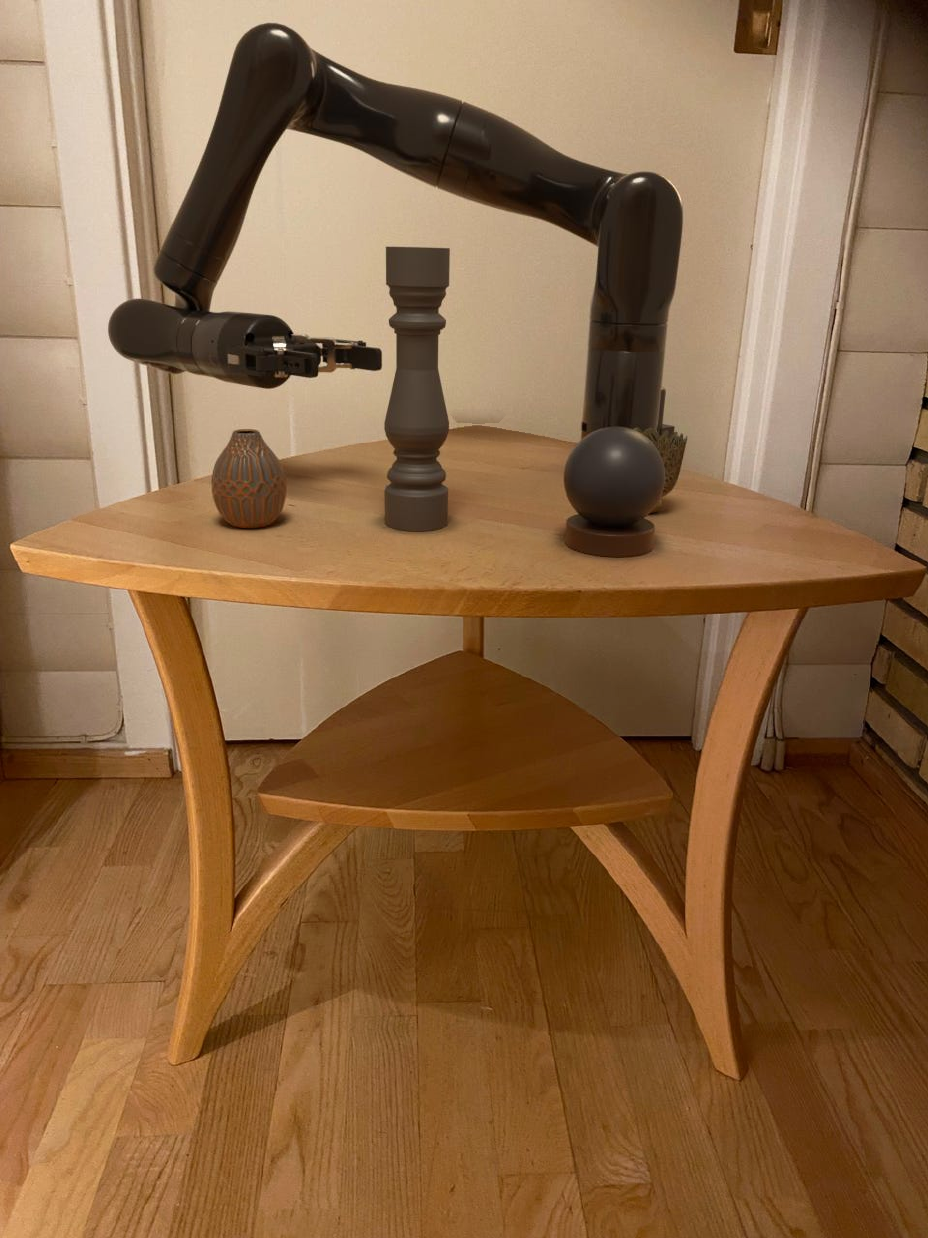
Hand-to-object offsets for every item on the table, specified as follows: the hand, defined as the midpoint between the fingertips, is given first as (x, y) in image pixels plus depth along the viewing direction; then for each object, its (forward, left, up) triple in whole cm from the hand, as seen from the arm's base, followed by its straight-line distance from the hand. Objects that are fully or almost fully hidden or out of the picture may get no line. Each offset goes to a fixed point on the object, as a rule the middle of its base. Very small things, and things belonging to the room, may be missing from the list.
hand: (348, 362), depth 94 cm
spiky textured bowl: (-24, +19, -15) cm, 34 cm away
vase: (+11, 0, -15) cm, 18 cm away
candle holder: (-2, +9, -15) cm, 17 cm away
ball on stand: (-12, +25, -14) cm, 31 cm away
